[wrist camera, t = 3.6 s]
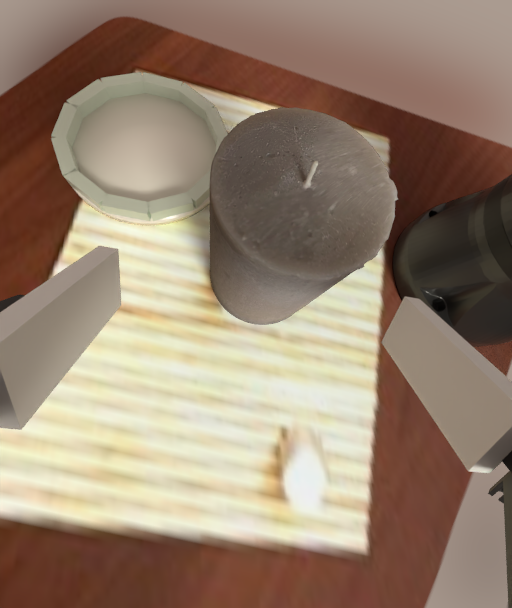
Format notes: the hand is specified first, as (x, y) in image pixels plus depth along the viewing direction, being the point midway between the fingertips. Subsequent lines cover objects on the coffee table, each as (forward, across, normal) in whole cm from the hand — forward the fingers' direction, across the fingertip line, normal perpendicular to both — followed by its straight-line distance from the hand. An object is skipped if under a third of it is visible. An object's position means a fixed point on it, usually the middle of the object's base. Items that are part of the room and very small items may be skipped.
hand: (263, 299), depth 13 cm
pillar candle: (+13, +1, -5) cm, 14 cm away
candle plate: (+21, -12, +3) cm, 24 cm away
